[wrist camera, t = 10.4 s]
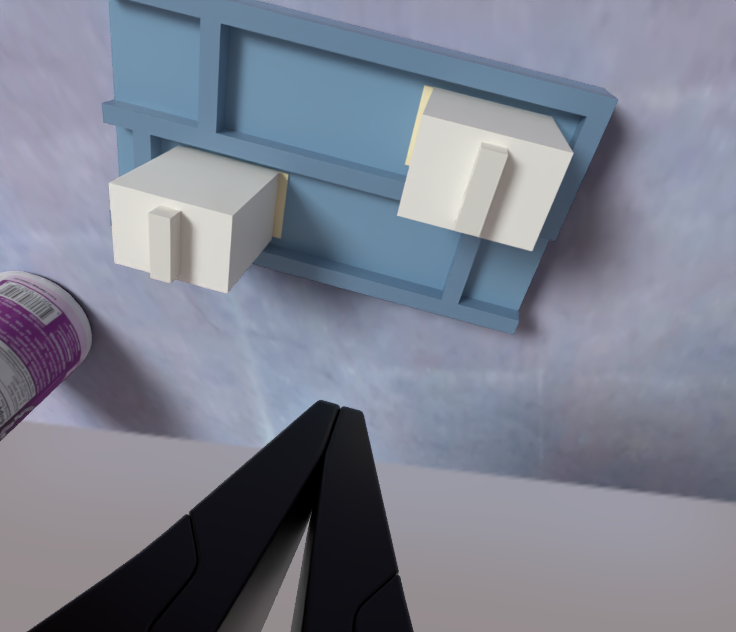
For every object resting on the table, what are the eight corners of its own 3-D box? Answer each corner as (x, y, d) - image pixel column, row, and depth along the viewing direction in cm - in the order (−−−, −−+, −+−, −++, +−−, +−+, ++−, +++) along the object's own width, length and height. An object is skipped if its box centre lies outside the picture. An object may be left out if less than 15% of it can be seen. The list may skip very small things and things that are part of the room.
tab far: (279, 172, 17) (223, 224, 14) (271, 239, 19) (218, 304, 15) (178, 145, 18) (95, 189, 14) (178, 214, 19) (102, 272, 15)
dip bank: (603, 88, 16) (618, 99, 14) (510, 307, 20) (513, 334, 19) (129, -32, 16) (91, -35, 15) (139, 207, 21) (110, 225, 19)
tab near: (551, 116, 15) (578, 160, 11) (520, 197, 16) (534, 261, 13) (434, 86, 15) (420, 119, 11) (412, 169, 17) (393, 224, 13)
